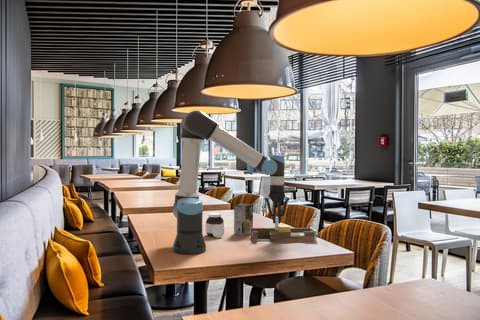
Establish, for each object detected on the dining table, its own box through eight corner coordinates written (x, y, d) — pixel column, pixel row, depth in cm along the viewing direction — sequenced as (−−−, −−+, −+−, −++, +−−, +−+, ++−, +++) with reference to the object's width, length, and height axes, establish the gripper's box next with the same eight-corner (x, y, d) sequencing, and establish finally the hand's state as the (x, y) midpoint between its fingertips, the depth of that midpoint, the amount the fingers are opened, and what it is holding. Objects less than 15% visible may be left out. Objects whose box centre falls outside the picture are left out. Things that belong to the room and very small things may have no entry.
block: (290, 234, 210) (290, 226, 210) (278, 234, 210) (278, 226, 210) (288, 232, 215) (288, 225, 215) (277, 232, 215) (277, 225, 215)
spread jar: (215, 232, 228) (215, 212, 228) (231, 235, 221) (231, 214, 221) (200, 236, 218) (201, 214, 218) (217, 239, 211) (217, 216, 211)
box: (316, 241, 208) (316, 230, 208) (252, 241, 206) (252, 230, 206) (311, 237, 218) (312, 227, 218) (251, 237, 217) (251, 226, 217)
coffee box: (245, 231, 232) (245, 203, 231) (253, 233, 227) (253, 204, 227) (233, 233, 225) (233, 204, 225) (241, 235, 221) (241, 205, 220)
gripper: (288, 183, 216) (287, 228, 216) (263, 183, 215) (263, 228, 216) (290, 185, 208) (290, 231, 209) (265, 184, 207) (264, 231, 208)
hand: (276, 229), depth 212 cm, fingers closed
